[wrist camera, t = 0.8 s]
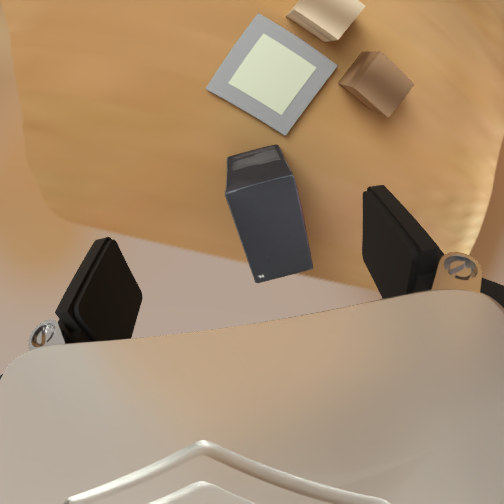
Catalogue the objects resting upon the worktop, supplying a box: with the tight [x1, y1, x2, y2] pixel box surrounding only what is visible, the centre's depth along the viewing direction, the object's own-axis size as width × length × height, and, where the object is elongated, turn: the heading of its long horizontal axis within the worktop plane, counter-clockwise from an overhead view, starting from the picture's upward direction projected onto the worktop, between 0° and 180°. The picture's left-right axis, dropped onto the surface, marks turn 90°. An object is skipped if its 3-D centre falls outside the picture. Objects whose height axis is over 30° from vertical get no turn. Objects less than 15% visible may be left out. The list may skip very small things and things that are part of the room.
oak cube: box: [286, 0, 365, 42], centre depth 23 cm, size 5×5×5 cm
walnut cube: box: [338, 52, 414, 118], centre depth 27 cm, size 5×5×5 cm
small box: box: [225, 145, 313, 283], centre depth 32 cm, size 11×6×10 cm, turn 15°
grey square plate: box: [206, 13, 338, 136], centre depth 28 cm, size 10×10×1 cm
